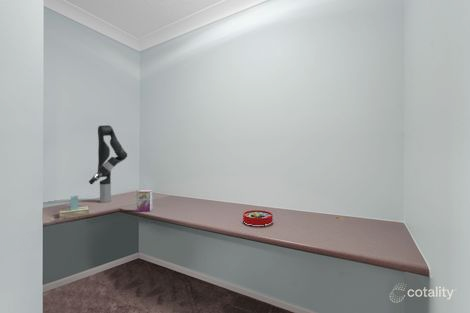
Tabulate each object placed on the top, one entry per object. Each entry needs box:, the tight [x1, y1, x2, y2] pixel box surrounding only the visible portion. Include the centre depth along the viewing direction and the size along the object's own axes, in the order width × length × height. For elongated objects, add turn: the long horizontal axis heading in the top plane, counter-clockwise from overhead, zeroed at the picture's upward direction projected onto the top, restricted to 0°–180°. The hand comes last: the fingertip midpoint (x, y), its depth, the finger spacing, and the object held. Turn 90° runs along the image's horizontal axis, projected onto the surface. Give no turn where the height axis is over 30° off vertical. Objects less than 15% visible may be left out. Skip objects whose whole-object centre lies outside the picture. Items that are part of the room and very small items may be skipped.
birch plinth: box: [59, 205, 90, 219], centre depth 177 cm, size 14×18×4 cm
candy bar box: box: [136, 189, 153, 212], centre depth 188 cm, size 11×5×16 cm, turn 84°
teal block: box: [70, 195, 79, 210], centre depth 177 cm, size 4×4×10 cm
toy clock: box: [242, 209, 274, 225], centre depth 157 cm, size 20×6×20 cm
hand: (90, 183), depth 183 cm, fingers open, 8 cm apart
